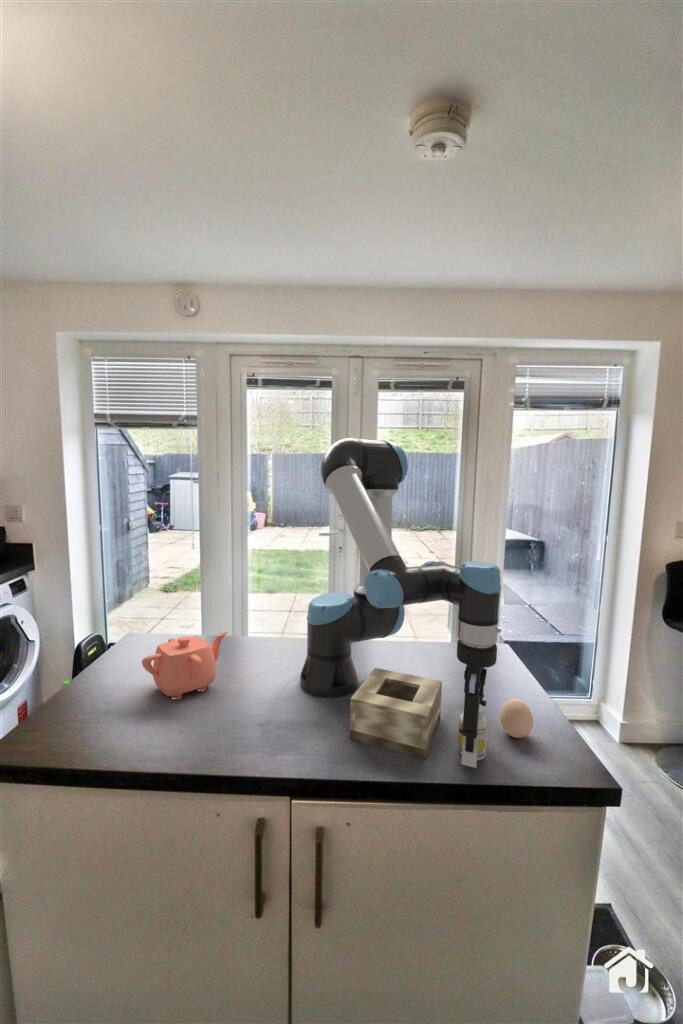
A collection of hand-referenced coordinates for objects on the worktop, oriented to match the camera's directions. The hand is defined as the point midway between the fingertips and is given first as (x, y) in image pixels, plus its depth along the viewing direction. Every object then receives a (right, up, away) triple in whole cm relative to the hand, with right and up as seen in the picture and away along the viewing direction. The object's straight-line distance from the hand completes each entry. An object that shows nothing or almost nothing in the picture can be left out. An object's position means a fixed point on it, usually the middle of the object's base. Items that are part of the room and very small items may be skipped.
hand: (471, 749), depth 87 cm
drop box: (-14, 0, +8) cm, 16 cm away
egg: (+11, -1, +6) cm, 13 cm away
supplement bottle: (0, -1, 0) cm, 1 cm away
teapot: (-66, +3, +24) cm, 70 cm away
